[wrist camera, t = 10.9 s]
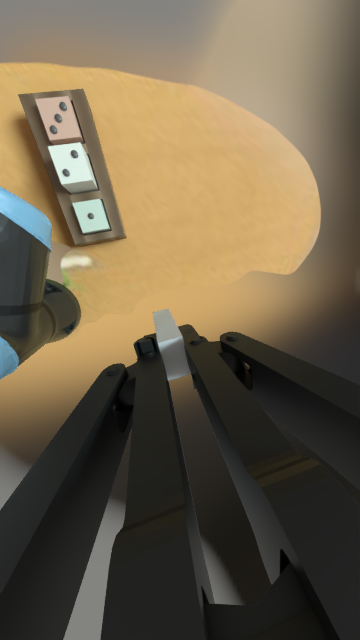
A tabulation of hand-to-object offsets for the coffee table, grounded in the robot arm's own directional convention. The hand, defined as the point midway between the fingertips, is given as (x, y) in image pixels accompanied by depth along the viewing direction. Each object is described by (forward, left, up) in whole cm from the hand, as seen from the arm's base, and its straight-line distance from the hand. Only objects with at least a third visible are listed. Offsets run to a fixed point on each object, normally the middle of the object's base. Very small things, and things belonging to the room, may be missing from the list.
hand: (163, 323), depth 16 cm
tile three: (-8, +30, -29) cm, 43 cm away
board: (-8, +23, -29) cm, 38 cm away
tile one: (-8, +16, -29) cm, 34 cm away
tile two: (-8, +23, -27) cm, 36 cm away
